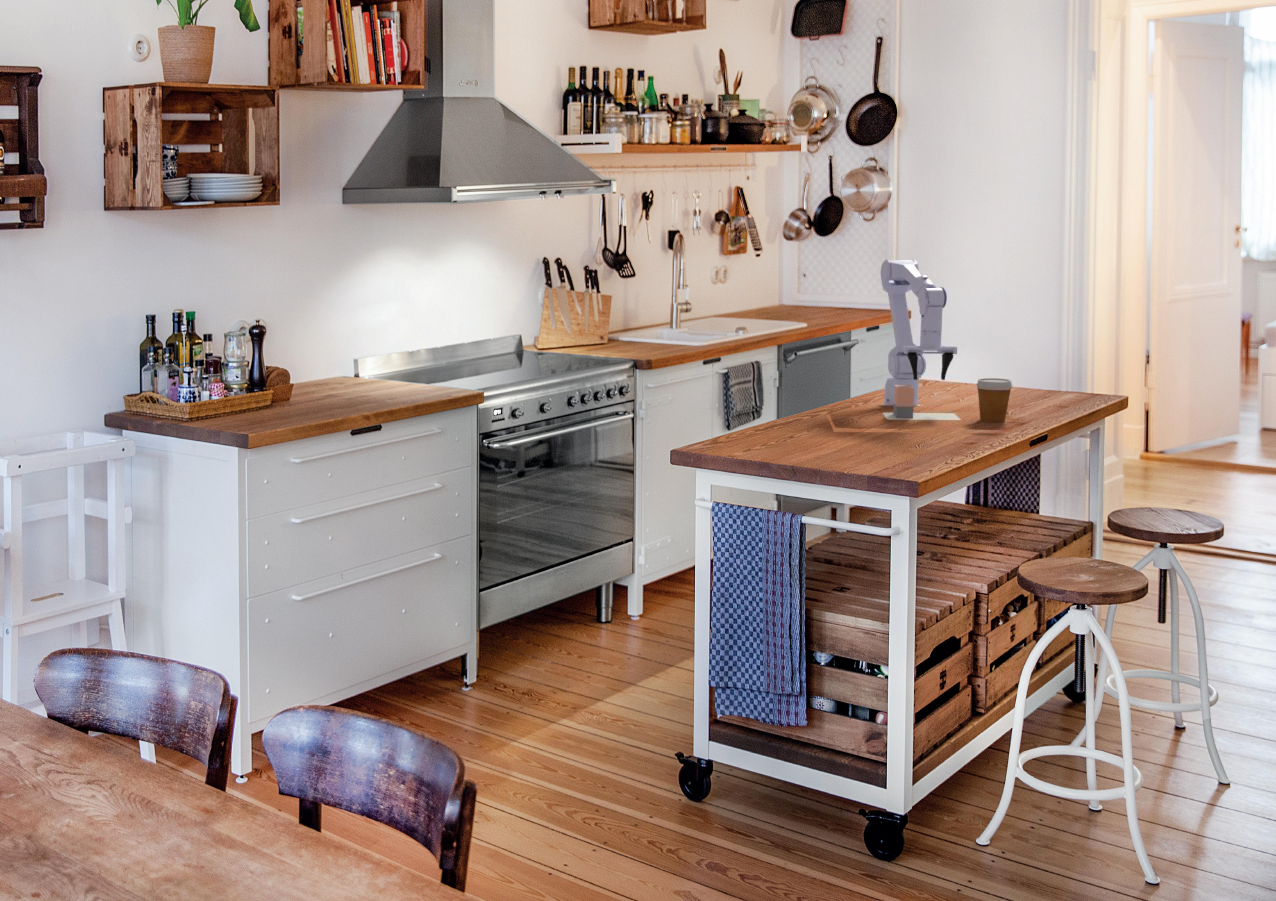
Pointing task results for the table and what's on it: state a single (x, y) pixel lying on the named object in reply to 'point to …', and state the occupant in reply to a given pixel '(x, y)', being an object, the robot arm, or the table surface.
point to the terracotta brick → (903, 395)
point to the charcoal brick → (903, 412)
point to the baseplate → (925, 416)
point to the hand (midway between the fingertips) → (929, 379)
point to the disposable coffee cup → (993, 398)
